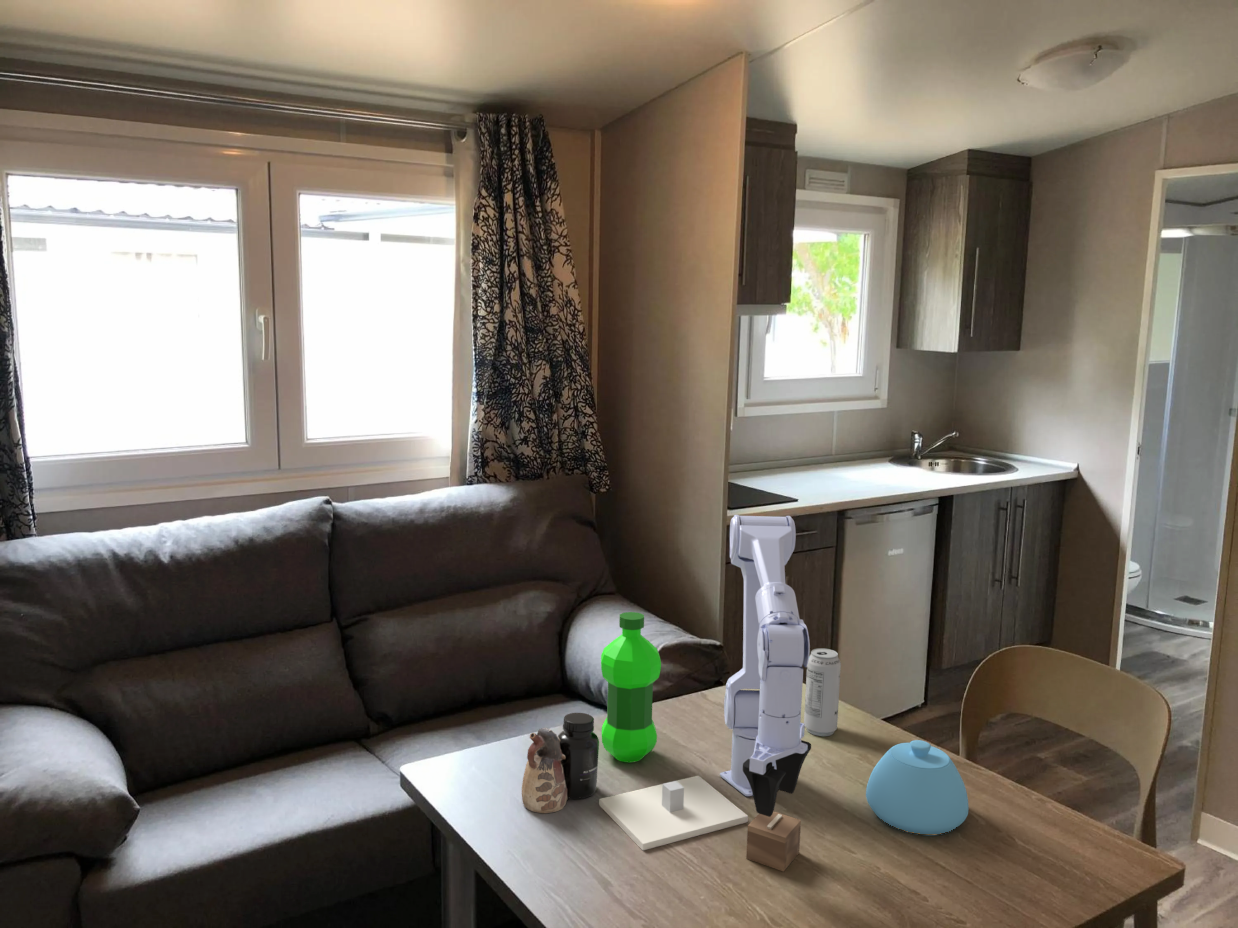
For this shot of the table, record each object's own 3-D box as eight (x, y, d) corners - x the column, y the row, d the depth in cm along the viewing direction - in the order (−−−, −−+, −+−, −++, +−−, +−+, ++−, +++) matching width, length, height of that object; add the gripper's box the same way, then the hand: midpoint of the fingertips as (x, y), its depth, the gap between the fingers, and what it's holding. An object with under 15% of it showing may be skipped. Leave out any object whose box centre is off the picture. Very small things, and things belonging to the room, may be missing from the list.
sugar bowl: (983, 814, 145) (989, 743, 143) (941, 852, 134) (947, 776, 132) (893, 780, 155) (897, 714, 153) (847, 813, 144) (851, 742, 142)
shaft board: (698, 781, 153) (698, 755, 152) (747, 821, 141) (748, 793, 140) (599, 804, 145) (599, 777, 144) (642, 850, 132) (643, 820, 132)
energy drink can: (842, 736, 171) (847, 657, 169) (811, 738, 170) (816, 659, 168) (828, 722, 177) (832, 646, 175) (798, 724, 176) (802, 648, 173)
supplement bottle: (593, 802, 145) (596, 728, 144) (549, 797, 146) (552, 724, 145) (599, 782, 152) (602, 711, 151) (558, 777, 153) (561, 707, 151)
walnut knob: (762, 840, 136) (764, 806, 135) (799, 852, 133) (801, 817, 132) (746, 858, 131) (747, 823, 130) (783, 871, 128) (785, 835, 127)
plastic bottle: (655, 741, 167) (659, 606, 163) (659, 769, 157) (664, 625, 153) (599, 741, 167) (601, 606, 163) (599, 769, 156) (602, 625, 153)
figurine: (576, 804, 145) (576, 731, 143) (537, 818, 140) (536, 743, 138) (552, 785, 150) (551, 714, 148) (513, 798, 146) (512, 726, 144)
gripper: (786, 735, 120) (781, 833, 122) (826, 699, 133) (821, 789, 135) (736, 721, 124) (732, 817, 126) (780, 688, 136) (776, 775, 138)
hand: (775, 801), depth 131 cm, fingers open, 7 cm apart
